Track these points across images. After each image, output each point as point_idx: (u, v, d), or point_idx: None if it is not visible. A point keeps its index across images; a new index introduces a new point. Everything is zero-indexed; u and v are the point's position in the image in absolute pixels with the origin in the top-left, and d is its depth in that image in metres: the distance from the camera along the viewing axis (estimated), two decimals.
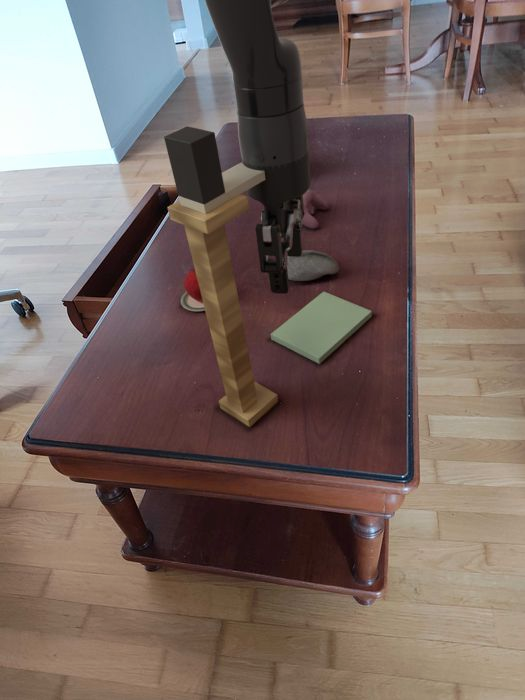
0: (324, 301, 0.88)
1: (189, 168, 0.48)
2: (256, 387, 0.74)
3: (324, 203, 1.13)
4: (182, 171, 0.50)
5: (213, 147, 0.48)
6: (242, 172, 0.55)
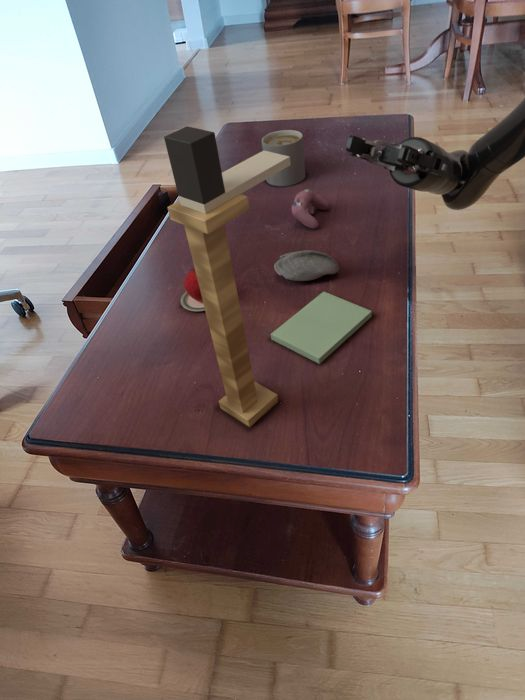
0: (324, 301, 0.88)
1: (189, 168, 0.48)
2: (256, 387, 0.74)
3: (324, 203, 1.13)
4: (182, 171, 0.50)
5: (213, 147, 0.48)
6: (242, 172, 0.55)
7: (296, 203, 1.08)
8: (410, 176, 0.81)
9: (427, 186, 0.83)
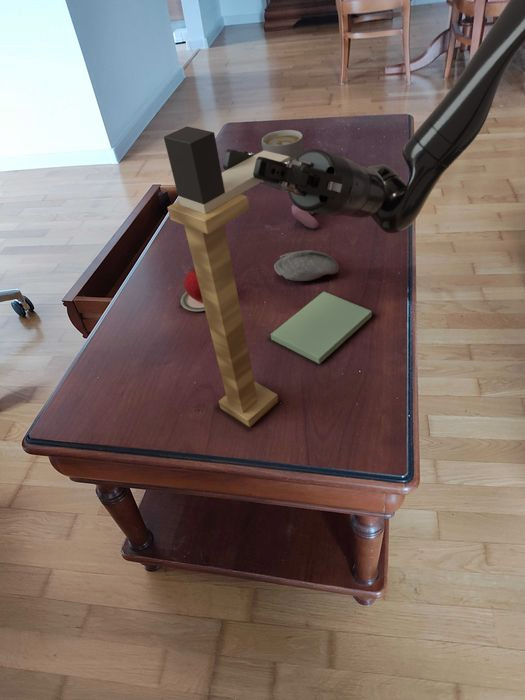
0: (324, 301, 0.88)
1: (189, 168, 0.48)
2: (256, 387, 0.74)
3: None
4: (182, 171, 0.50)
5: (212, 147, 0.48)
6: (242, 172, 0.55)
7: None
8: (310, 198, 0.64)
9: (335, 210, 0.66)
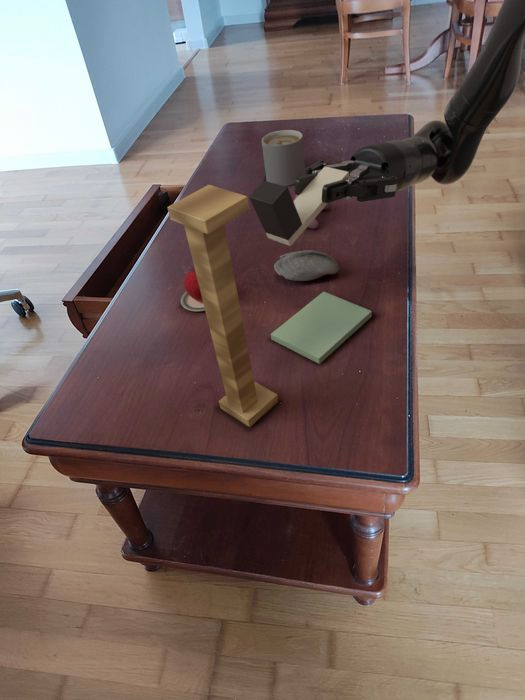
0: (324, 301, 0.88)
1: (272, 218, 0.62)
2: (256, 387, 0.74)
3: None
4: (267, 219, 0.63)
5: (288, 197, 0.61)
6: (312, 197, 0.67)
7: None
8: (370, 190, 0.74)
9: None
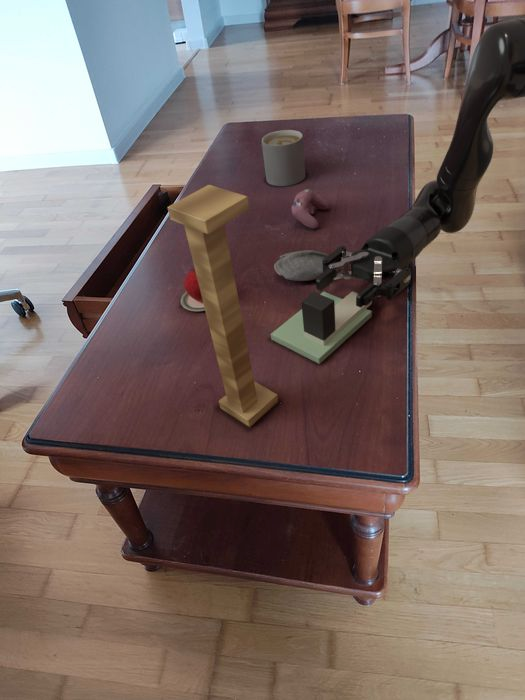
0: None
1: (317, 321, 0.77)
2: (256, 387, 0.74)
3: (324, 203, 1.13)
4: (311, 321, 0.78)
5: (332, 308, 0.77)
6: (342, 312, 0.83)
7: (296, 203, 1.08)
8: None
9: None
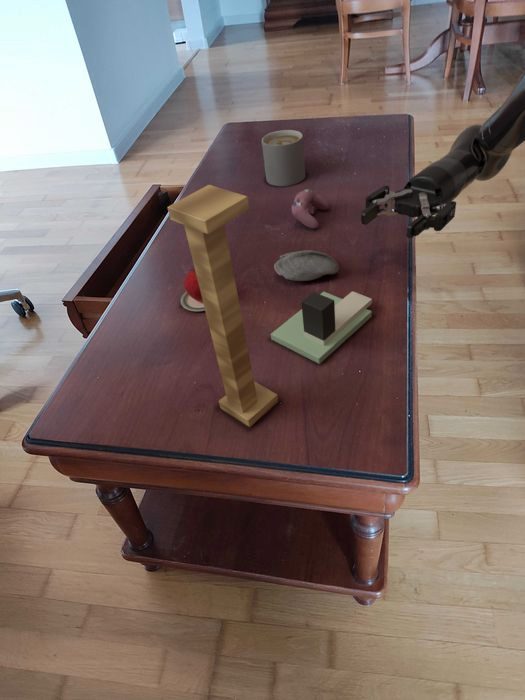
0: None
1: (317, 321, 0.77)
2: (256, 387, 0.74)
3: (324, 203, 1.13)
4: (311, 321, 0.78)
5: (332, 308, 0.77)
6: (342, 312, 0.83)
7: (296, 203, 1.08)
8: None
9: None
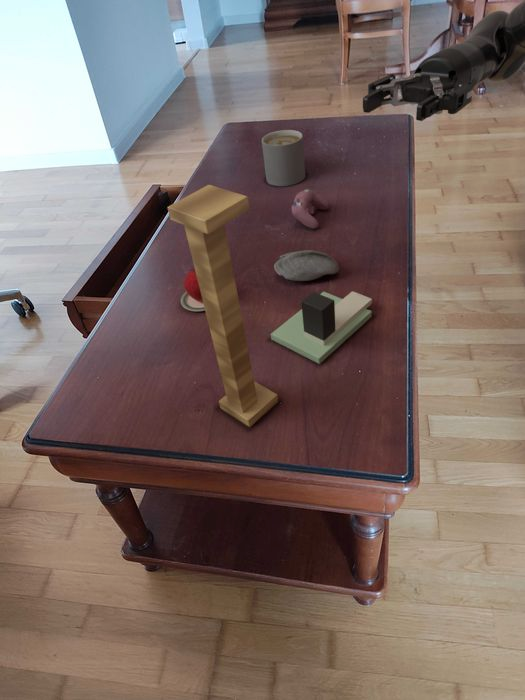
0: None
1: (317, 321, 0.77)
2: (256, 387, 0.74)
3: (324, 203, 1.13)
4: (311, 321, 0.78)
5: (332, 308, 0.77)
6: (342, 312, 0.83)
7: (296, 203, 1.08)
8: None
9: None
